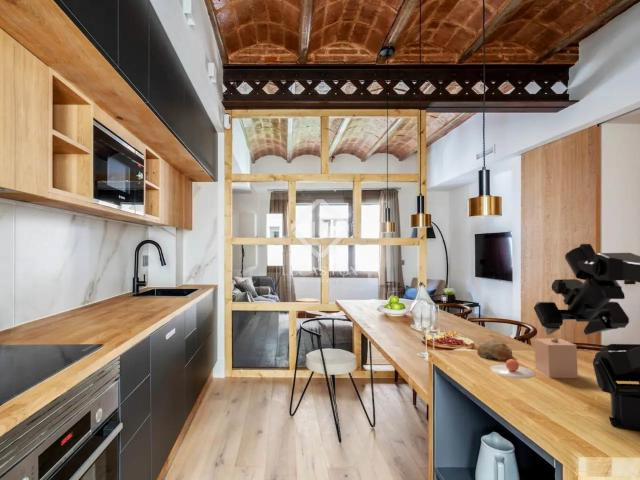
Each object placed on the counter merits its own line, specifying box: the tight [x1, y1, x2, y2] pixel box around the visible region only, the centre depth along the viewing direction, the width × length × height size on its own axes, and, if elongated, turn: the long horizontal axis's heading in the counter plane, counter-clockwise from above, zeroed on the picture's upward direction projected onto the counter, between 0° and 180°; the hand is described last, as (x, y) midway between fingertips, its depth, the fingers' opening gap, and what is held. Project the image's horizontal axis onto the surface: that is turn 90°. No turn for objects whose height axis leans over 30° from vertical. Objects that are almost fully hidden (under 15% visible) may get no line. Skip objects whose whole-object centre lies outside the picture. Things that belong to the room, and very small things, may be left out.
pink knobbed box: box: [533, 337, 579, 379], centre depth 95 cm, size 7×7×10 cm
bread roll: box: [477, 338, 513, 362], centre depth 111 cm, size 10×10×8 cm
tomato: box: [505, 358, 520, 371], centre depth 97 cm, size 3×3×3 cm
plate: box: [490, 364, 537, 379], centre depth 97 cm, size 11×11×1 cm
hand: (566, 333), depth 90 cm, fingers open, 9 cm apart
